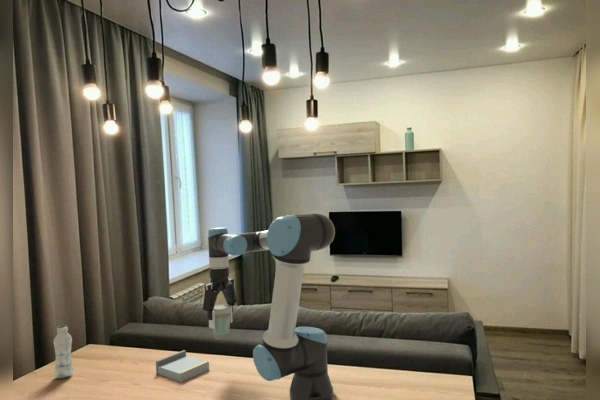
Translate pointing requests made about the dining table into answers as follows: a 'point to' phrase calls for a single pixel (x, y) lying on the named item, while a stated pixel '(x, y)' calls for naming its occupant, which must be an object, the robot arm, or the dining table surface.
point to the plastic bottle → (63, 353)
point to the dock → (180, 366)
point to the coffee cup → (222, 321)
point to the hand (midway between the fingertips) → (221, 324)
